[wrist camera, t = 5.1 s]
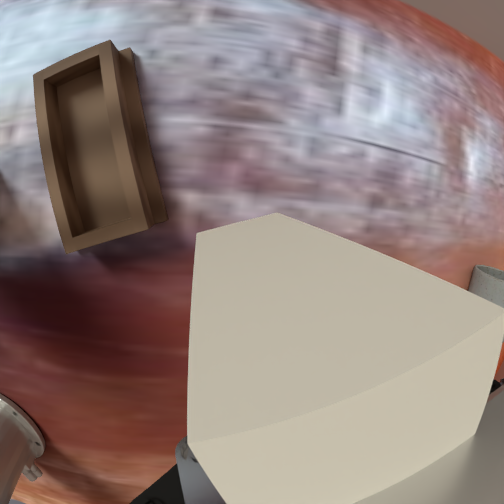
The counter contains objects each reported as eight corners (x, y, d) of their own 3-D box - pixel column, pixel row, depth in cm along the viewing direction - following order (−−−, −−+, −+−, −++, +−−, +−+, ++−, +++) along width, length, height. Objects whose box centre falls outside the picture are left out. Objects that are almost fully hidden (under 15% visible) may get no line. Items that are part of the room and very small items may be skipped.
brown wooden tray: (168, 218, 24) (161, 225, 21) (73, 247, 23) (56, 257, 20) (132, 51, 20) (122, 35, 17) (42, 89, 19) (23, 80, 16)
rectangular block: (324, 388, 16) (424, 545, 5) (250, 411, 15) (305, 593, 5) (293, 208, 13) (535, 287, 3) (196, 233, 13) (187, 442, 2)
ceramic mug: (445, 327, 31) (486, 356, 24) (462, 263, 29) (510, 283, 22) (490, 321, 33) (525, 343, 25) (505, 265, 31) (545, 282, 24)
